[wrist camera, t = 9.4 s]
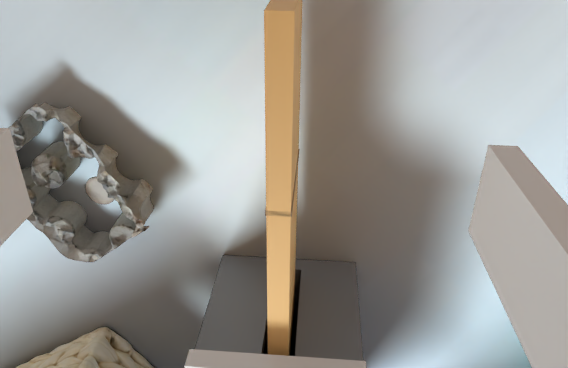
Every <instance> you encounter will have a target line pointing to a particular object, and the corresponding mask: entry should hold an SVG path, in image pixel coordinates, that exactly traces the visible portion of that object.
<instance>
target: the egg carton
mask: <svg viewBox="0 0 568 368" xmlns="http://www.w3.org/2000/svg"><path fill="white" fill-rule="evenodd" d="M52 118H56V119H57V120H58V121H59V122H60V123H62V124H63V126H64V127H65V129H64V130H63V133H64V137H63V142H61V141H59V142H55V143H53V144H52V143H51V145H50V146H49V147H48V148H47V149H46V150H44V151H43V152H42V153H41V154H40V155H38V156H37V157H36V158H35V159H34V160H33V161H32V167H27V168H24V169H21V171H22V174H23V178H24V181H25V185H26V188H27V192H28V195H29V199H30V203H31V206H32V210H33V213H32V214H31V215H30V216H29V217H28V218H27V219H28V220H29V221H30V222H31V223H32V224H33V225H34V226H35V227H36V228H37V229H38V230H40V231H41V232H43V233H44V234H45V235H46V236H47V237H48V238H49V240H50V241H51V242H52V243H53V245H54V246H55V247H56V248H57V250H58V251H59V252H60V253H61V254H63V255H64V256H65V257H67V258H69V259H72V260H77V261H84V262H94V261H96V260H98V259H100V258H102V257H103V256H104V255H106V254H107V253H109V252H110V251H112V250H113V249H116V248H117V247H118V246H120V245H121V244H122V243H124V242H125V241H126V240H128V239H130V238H131V237H132V238H133V237H135V236H137V235H138V234H140V233H141V232H142V231H145V230H146V229H147V228H149V226H143V225H144V224H145V222H146V220H147V219H148V217H149V216H150V214H151V212H152V211H153V209H154V206H153V205H152V203H151V200H150V193H151V191H152V187H151V186H150V185H149V183H147V182H146V181H145V180H144V179H140V180H131V179H128V178H126V177H124V176H123V175H121V174H120V173H119V171H118V170H117V167H116V158H117V156H118V155H119V154H118V153H117V152H116V151H115V150H113V149H112V148H110V147H109V146H108V145H106V144H104V145H93V144H91V143H89V142H87V141H86V140H85V139H84V138H83V137H82V135H81V134H80V132H79V121H80V119H81V116H80V115H79V114H78V113H77V112H76V111H75V110H74V109H73V108H71V107H70V106H68V107H65V108H56V107H53V106H51V105H49V104H47V103H45V102H44V103H43V104H42V105H40V106H38V104H35V105H33V106H32V107H31V108H30V109H28V110H27V111H26V112H25V113H24V114H23V115H22V116H21V117H20V118H19V119H17V120H16V122H15V123H14V124H13V125H12V126H10V127H9V128H10V132H11V135H12V139H13V142H14V146H15V150H16V151H17V150H20V149H21V148H22V147H23V146H24V145H25V144H26V143H28V142H29V141H30V140H32V139H33V138H34V137H35V136H37V135H38V134H39V133H40V132H41V130H42V126H43V123H42V121H48V120H50V119H52ZM80 157H85V158H89V159H90V158H94V157H95V158H96V159H97V161H98V163H99V169H98V175H97V177H92V178H90V179H89V180H88V181H87V182H86V186H85V190H86V193H87V194H88V196H89V198H90V199H91V200H92V201H94V202H96V203H98V204H109V203H111V202H113V201H114V200H116V201H118V203H119V205H120V207H121V210H122V212H123V213H122V214H121V215H120V217H119V218H118V219H117V221H116V222H115V224H114V225H113V227H112V228H111V230H110V233H109V232H106V231H99V232H96V233H93V232H91V231H90V230H89V229H88V228H87V227H86V226H85V225H84V224H85V222H86V221H87V213H86V211H85V210H84V208H83V207H82V206H81V205H80V204H78V203H76V202H74V201H62V202H58V201H56V200H55V199H54V198H53V197H52V196H51V195H50V194H49V191H50V189H51V188H58V187H60V186H61V185H62V184H63V183H64V182H65V181H66V180H67V179H68V178H69V177H70V176H71V175H72V174H73V173H74V171H75V170H76V169H77V168H78V167H79V165H80V163H81V159H80Z"/></svg>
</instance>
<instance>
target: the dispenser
mask: <svg viewBox="0 0 568 368" xmlns="http://www.w3.org/2000/svg"><path fill="white" fill-rule="evenodd" d="M184 368H366V361H363V351H362V339H361V326H360V313H359V301H358V288H357V275H356V263H355V262H338V261H320V260H302V259H296V262H295V300H294V314H293V326H292V338H291V350H290V356H285V355H270V354H268V327H267V258H266V257H249V256H231V255H223V257H222V260H221V263H220V267H219V270H218V273H217V277H216V280H215V283H214V287H213V290H212V293H211V297H210V300H209V303H208V307H207V310H206V313H205V317H204V320H203V323H202V326H201V330H200V333H199V336H198V340H197V343H196V346H195V349H189V353H188V356H187V359H186V362H185V365H184Z"/></svg>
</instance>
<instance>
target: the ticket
mask: <svg viewBox="0 0 568 368" xmlns="http://www.w3.org/2000/svg"><path fill="white" fill-rule="evenodd" d="M264 33H265V131H266V210H265V216H266V229H267V327H268V354H270V355H285V356H290V350H291V338H292V326H293V314H294V300H295V262H296V224H297V186H298V159H299V149H298V148H299V110H300V72H301V34H302V0H270V2H269V4H268V5H267V7H266V8H265V10H264Z"/></svg>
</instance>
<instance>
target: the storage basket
mask: <svg viewBox="0 0 568 368" xmlns="http://www.w3.org/2000/svg"><path fill="white" fill-rule="evenodd" d="M15 368H154V367H153V366H151V365H150V363H149V362H148V361H147V360H146V359H145V358H144V357H143V356H142V355H140V354H139V353H138V352H136V351H135V350H134V349H133V348H132V346H131V345H130V344H129V343H128V342H127V341H126V340H125V339H124V338H122V337H121V336H119V335H118V334H116V333H115V332H113V331H112V330H111V329H109V328H107V327H101V328H97V329H96V330H94V331H92V332H90V333H88V334H84V335H82V336H80V337H79V338H78V339H75V340H73V341H72V342H70V343H68V344H64V345H61V346H59V347H57V348H55V349H54V350H53V351H51V352H50V353H46V354H43V355H39V356H36V357H34V358H33V359H31V360H30V361H29V362H27V363H24V364H21V365H19V366H17V367H15Z"/></svg>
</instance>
